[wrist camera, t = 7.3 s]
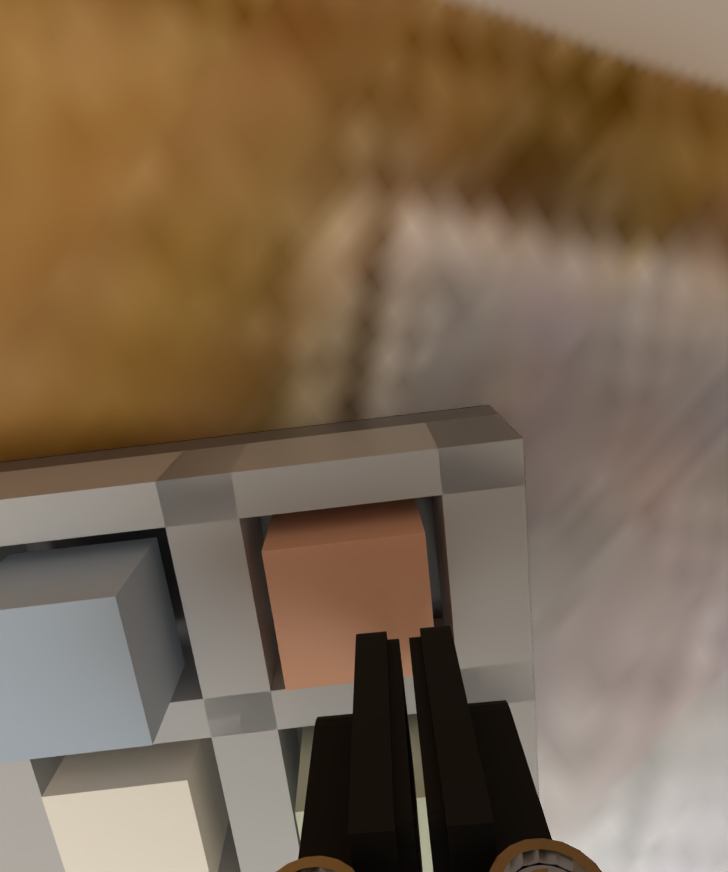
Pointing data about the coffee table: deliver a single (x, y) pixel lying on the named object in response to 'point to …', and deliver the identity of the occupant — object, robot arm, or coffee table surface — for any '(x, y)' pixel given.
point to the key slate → (85, 649)
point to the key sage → (419, 784)
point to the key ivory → (139, 809)
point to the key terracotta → (345, 586)
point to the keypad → (249, 598)
